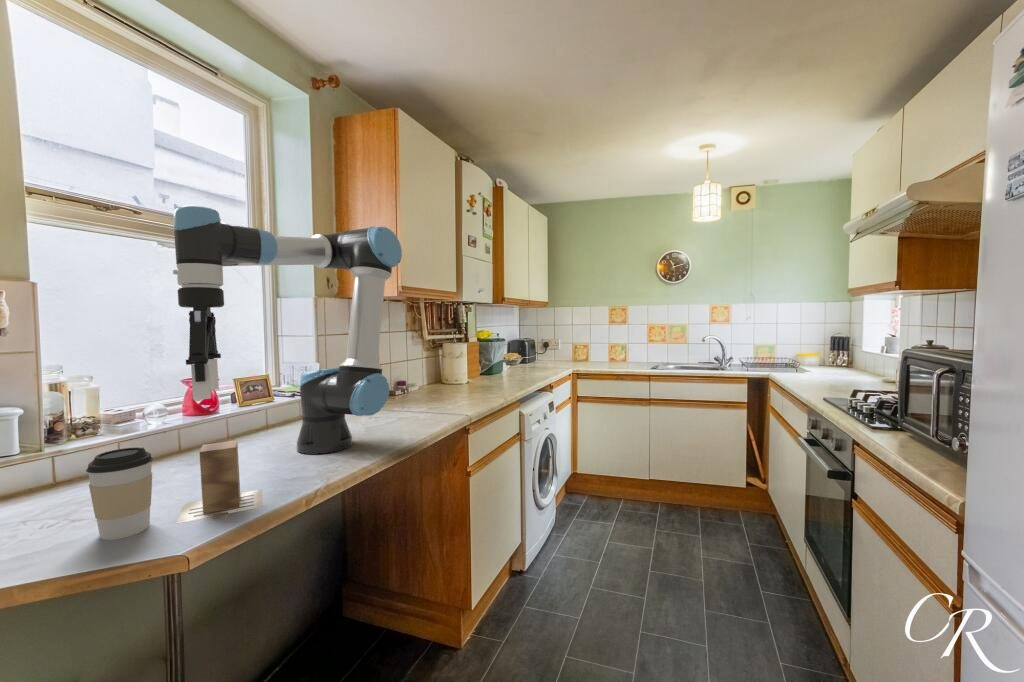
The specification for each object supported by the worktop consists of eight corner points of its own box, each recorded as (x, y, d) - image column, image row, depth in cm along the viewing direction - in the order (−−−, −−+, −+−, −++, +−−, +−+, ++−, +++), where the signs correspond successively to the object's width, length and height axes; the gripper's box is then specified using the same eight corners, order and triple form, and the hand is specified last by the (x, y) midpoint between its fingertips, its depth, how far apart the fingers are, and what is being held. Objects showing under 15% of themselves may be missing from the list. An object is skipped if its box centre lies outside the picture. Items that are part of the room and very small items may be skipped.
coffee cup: (81, 550, 76) (74, 461, 75) (104, 528, 84) (98, 447, 83) (148, 538, 80) (142, 453, 79) (163, 518, 88) (158, 441, 87)
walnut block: (240, 496, 96) (237, 440, 96) (239, 506, 91) (236, 447, 91) (206, 502, 94) (202, 444, 93) (203, 513, 88) (199, 452, 88)
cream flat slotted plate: (269, 488, 103) (269, 485, 103) (271, 511, 90) (271, 508, 90) (176, 504, 94) (176, 502, 94) (163, 533, 82) (163, 530, 81)
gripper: (188, 291, 100) (194, 388, 101) (163, 281, 78) (171, 405, 79) (228, 291, 103) (233, 385, 104) (216, 282, 81) (222, 401, 82)
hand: (206, 394), depth 92 cm, fingers open, 13 cm apart
